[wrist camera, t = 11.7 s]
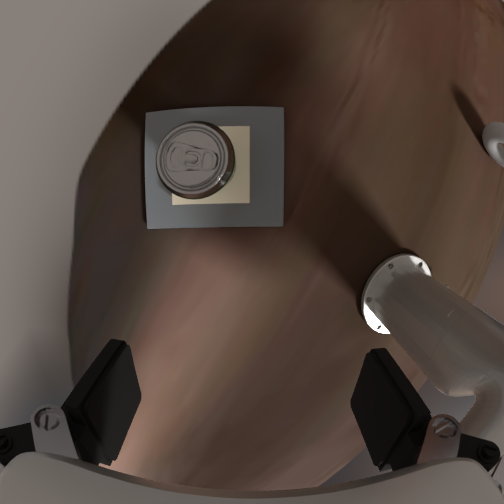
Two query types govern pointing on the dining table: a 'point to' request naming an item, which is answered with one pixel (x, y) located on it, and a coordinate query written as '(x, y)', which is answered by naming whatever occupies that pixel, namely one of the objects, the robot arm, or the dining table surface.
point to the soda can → (195, 160)
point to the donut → (494, 141)
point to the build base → (258, 170)
